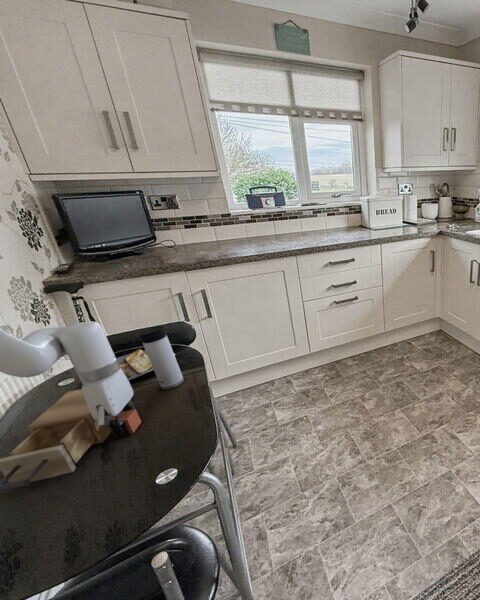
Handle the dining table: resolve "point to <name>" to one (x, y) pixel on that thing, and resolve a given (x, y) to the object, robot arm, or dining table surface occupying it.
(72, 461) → the drawer
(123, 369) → the food plate
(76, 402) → the cabinet
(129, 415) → the block
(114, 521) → the dining table surface
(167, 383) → the travel mug
